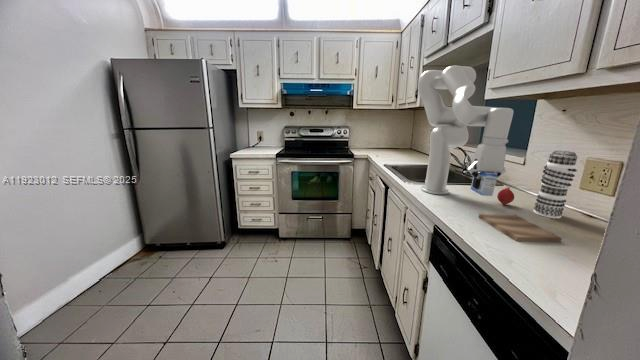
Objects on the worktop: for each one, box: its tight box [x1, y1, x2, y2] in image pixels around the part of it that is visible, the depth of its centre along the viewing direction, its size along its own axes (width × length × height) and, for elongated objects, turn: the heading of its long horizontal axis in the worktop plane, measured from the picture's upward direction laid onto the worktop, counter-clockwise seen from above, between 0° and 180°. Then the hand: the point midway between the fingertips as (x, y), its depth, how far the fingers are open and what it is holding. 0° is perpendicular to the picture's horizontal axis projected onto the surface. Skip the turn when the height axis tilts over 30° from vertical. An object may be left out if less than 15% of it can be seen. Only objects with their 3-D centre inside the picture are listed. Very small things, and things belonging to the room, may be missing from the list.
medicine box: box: [470, 169, 499, 197], centre depth 99 cm, size 8×4×9 cm, turn 178°
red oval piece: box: [497, 186, 515, 206], centre depth 108 cm, size 6×6×8 cm
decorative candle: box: [532, 150, 579, 219], centre depth 96 cm, size 9×9×25 cm
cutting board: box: [478, 213, 563, 243], centre depth 85 cm, size 18×14×2 cm
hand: (482, 187), depth 99 cm, fingers closed on medicine box, 4 cm apart
